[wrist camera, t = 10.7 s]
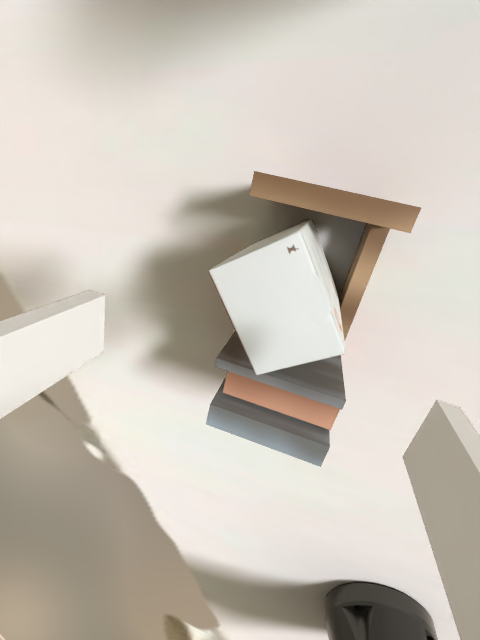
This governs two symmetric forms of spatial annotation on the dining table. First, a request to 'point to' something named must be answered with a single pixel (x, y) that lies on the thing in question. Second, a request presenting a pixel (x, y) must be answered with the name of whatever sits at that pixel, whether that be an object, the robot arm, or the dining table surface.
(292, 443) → the book rack
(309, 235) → the small box
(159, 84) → the dining table surface
